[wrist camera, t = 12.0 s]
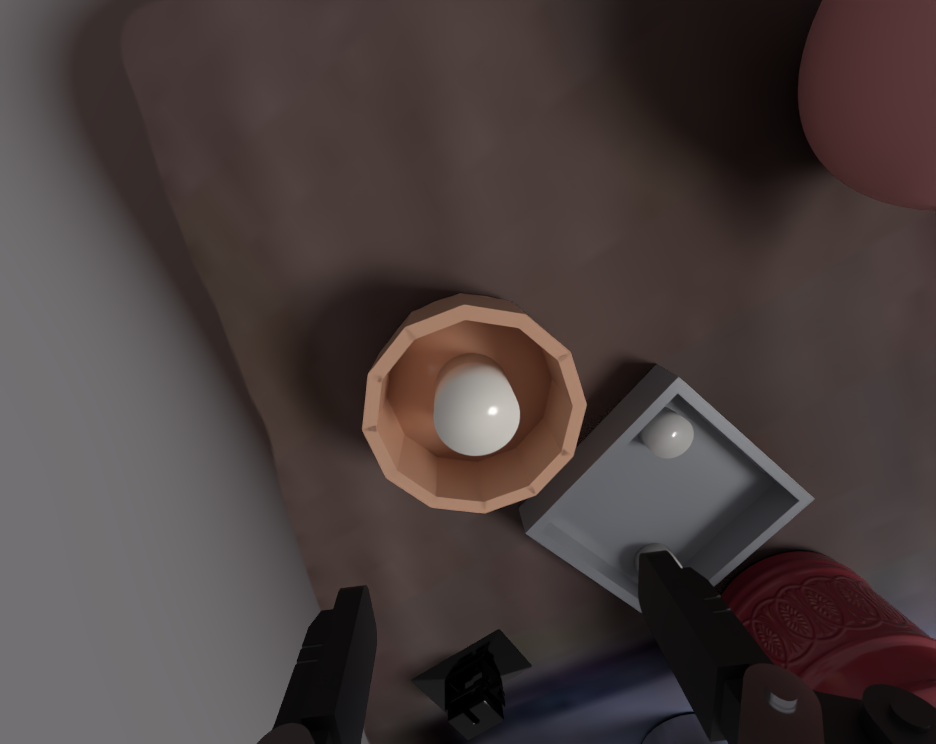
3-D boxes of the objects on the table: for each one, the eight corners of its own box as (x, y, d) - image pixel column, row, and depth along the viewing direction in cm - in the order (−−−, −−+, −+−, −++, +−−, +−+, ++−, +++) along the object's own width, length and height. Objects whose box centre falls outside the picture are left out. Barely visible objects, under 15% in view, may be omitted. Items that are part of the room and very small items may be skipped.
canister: (721, 679, 40) (920, 993, 24) (695, 576, 37) (909, 863, 20) (857, 635, 40) (1161, 926, 23) (845, 525, 36) (1199, 779, 19)
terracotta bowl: (594, 370, 31) (627, 400, 25) (480, 493, 33) (488, 545, 27) (456, 253, 28) (459, 258, 22) (342, 398, 30) (320, 434, 25)
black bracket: (507, 608, 37) (516, 658, 33) (551, 657, 39) (565, 710, 35) (393, 677, 39) (387, 733, 34) (441, 721, 41) (441, 780, 36)
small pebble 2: (678, 562, 35) (690, 579, 34) (644, 581, 36) (655, 599, 34) (661, 536, 34) (672, 552, 33) (626, 557, 35) (636, 573, 33)
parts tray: (783, 477, 34) (814, 498, 31) (647, 599, 37) (665, 629, 34) (656, 363, 31) (678, 376, 28) (518, 508, 34) (525, 533, 31)
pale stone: (522, 382, 30) (537, 410, 25) (475, 434, 31) (481, 470, 26) (466, 338, 28) (471, 358, 24) (420, 393, 29) (415, 423, 25)
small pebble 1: (686, 431, 32) (701, 441, 30) (649, 454, 32) (661, 466, 30) (667, 398, 31) (681, 407, 29) (629, 422, 31) (640, 433, 29)
